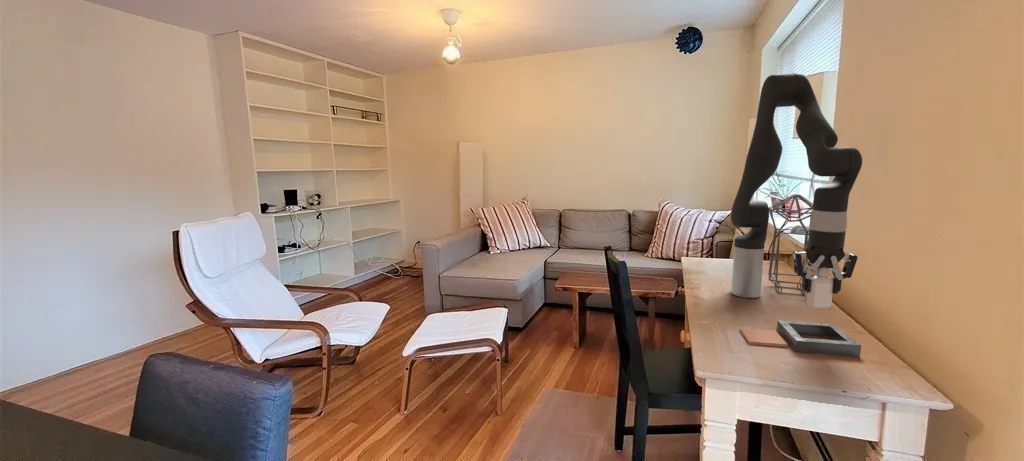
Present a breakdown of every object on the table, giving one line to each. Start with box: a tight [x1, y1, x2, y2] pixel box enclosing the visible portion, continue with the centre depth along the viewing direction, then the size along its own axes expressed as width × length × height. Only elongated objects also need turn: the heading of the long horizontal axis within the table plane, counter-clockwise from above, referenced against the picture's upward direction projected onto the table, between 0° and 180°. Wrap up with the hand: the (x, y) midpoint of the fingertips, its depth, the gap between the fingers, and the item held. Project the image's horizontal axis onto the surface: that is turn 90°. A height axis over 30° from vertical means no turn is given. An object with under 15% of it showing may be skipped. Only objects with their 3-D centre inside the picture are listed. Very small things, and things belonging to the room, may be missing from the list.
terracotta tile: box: [739, 328, 789, 348], centre depth 118 cm, size 9×9×1 cm
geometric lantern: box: [768, 193, 814, 296], centre depth 156 cm, size 16×16×35 cm
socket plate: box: [776, 319, 862, 358], centre depth 115 cm, size 14×14×3 cm
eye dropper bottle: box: [806, 267, 834, 310], centre depth 113 cm, size 4×6×12 cm
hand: (820, 291), depth 113 cm, fingers closed on eye dropper bottle, 5 cm apart
